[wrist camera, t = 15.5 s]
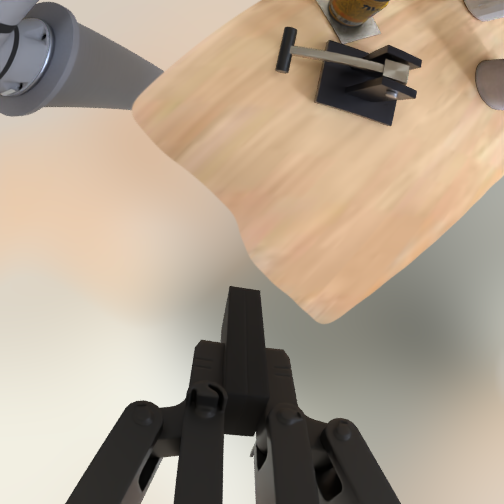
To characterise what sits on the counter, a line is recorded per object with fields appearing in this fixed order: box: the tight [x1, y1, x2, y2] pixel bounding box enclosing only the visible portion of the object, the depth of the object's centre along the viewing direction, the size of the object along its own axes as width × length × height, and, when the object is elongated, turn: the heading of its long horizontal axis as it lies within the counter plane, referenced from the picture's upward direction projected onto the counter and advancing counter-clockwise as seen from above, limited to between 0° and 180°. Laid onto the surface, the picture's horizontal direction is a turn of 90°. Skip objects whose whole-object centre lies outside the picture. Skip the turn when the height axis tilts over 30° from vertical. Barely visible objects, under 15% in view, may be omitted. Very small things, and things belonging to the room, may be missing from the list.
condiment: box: [316, 0, 389, 44], centre depth 28 cm, size 7×8×12 cm
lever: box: [275, 27, 410, 86], centre depth 29 cm, size 15×6×2 cm, turn 79°
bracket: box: [315, 40, 422, 126], centre depth 32 cm, size 12×10×14 cm
